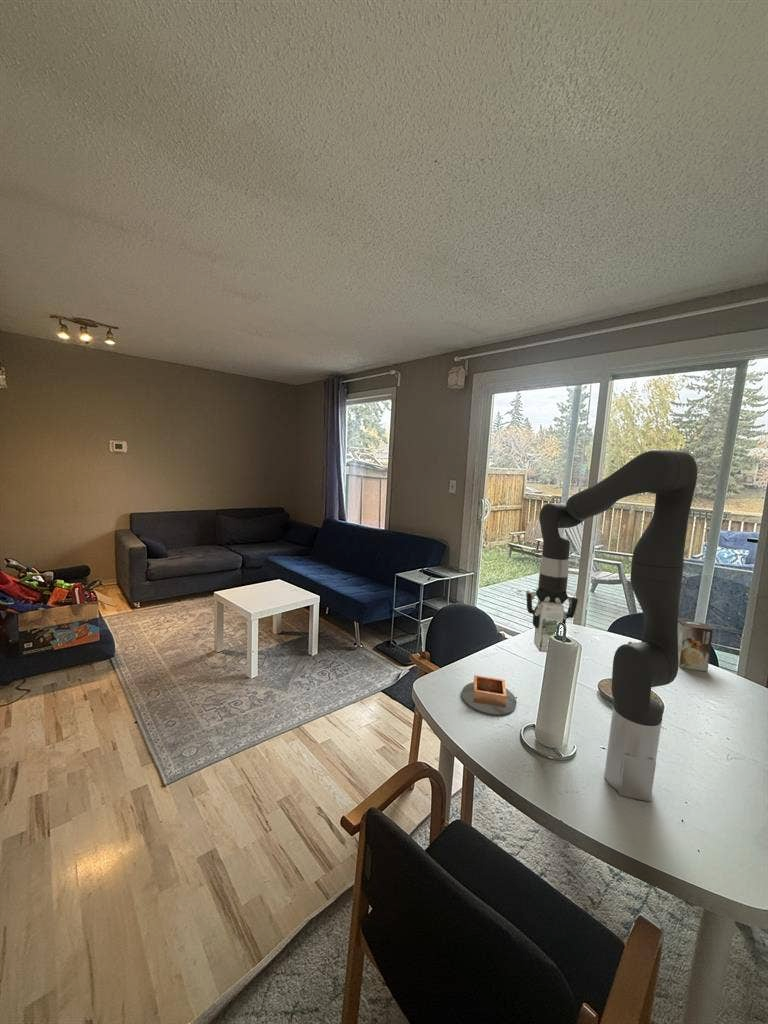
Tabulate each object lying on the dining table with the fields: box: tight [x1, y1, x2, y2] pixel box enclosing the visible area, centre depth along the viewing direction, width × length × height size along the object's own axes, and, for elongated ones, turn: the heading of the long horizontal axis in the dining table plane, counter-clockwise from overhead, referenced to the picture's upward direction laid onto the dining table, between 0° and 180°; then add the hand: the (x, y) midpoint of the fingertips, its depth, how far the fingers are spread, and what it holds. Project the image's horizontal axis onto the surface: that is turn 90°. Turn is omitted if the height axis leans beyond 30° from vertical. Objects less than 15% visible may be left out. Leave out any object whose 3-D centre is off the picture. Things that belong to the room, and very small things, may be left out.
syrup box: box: [533, 598, 565, 653], centre depth 117 cm, size 6×6×14 cm
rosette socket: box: [461, 674, 517, 717], centre depth 123 cm, size 16×16×4 cm
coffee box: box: [678, 619, 714, 672], centre depth 150 cm, size 9×6×16 cm
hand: (548, 628), depth 118 cm, fingers closed on syrup box, 6 cm apart
